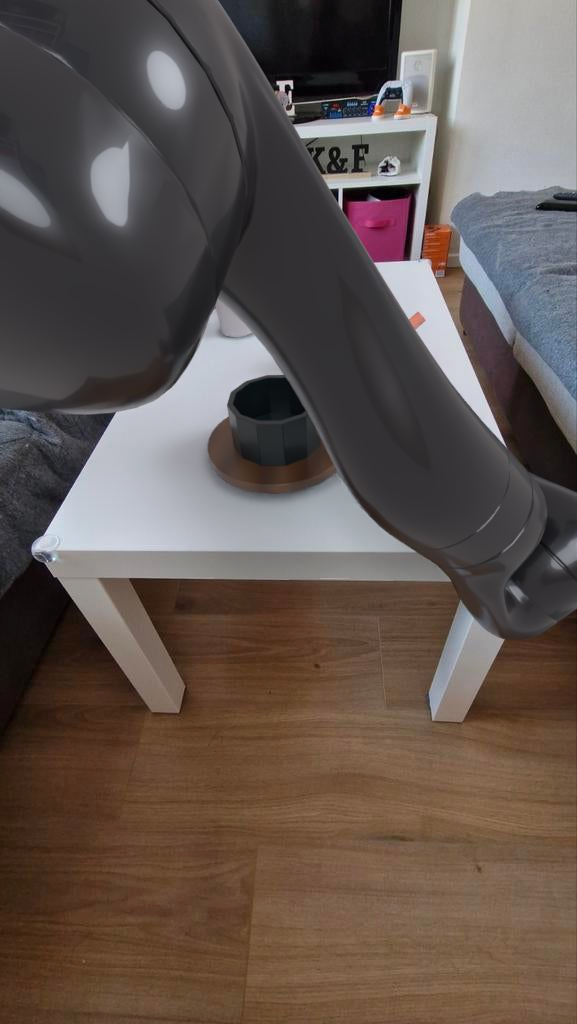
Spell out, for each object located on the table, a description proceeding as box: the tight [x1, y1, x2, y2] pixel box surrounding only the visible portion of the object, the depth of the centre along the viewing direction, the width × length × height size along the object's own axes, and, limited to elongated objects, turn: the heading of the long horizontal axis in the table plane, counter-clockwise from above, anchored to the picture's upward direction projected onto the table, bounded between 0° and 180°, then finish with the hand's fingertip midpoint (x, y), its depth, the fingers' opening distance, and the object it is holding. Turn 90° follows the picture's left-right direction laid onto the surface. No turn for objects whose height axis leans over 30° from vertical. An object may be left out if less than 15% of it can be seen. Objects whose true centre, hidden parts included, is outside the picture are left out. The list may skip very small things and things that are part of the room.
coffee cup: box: [215, 299, 253, 338], centre depth 87 cm, size 10×10×15 cm
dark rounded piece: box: [207, 374, 337, 495], centre depth 59 cm, size 18×18×15 cm
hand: (340, 350), depth 56 cm, fingers closed
